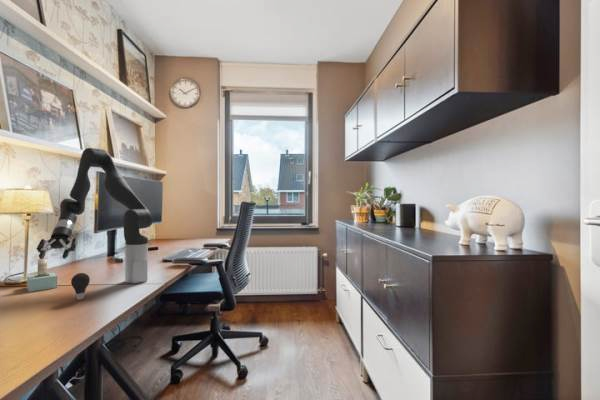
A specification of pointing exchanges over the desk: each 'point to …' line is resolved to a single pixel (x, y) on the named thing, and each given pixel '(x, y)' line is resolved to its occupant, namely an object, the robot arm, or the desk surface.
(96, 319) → the desk surface
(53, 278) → the bead block
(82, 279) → the light bulb
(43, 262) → the dowel
